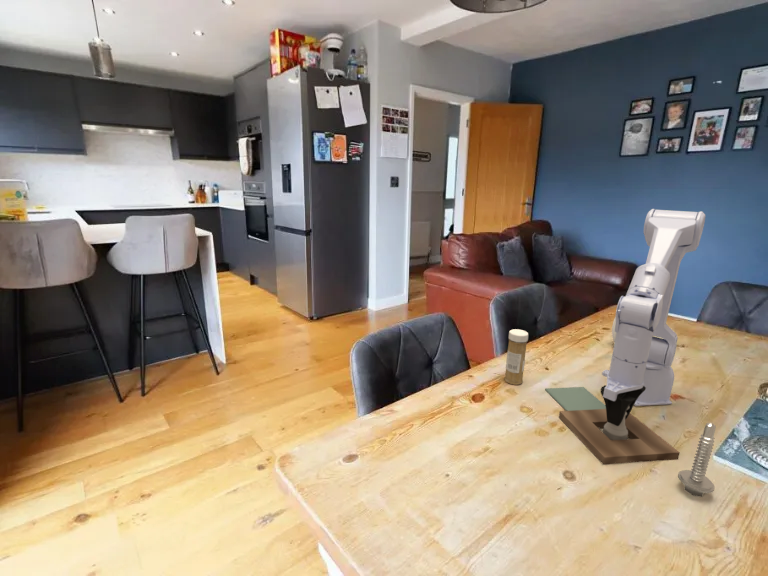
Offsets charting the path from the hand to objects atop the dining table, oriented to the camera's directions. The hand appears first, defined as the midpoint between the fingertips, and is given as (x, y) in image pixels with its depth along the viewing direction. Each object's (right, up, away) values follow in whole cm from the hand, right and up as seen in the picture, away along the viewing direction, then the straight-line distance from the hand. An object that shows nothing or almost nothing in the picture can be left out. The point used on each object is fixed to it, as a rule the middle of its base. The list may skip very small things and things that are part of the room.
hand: (617, 419), depth 80 cm
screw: (+5, -8, -13) cm, 16 cm away
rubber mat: (-1, 0, +14) cm, 14 cm away
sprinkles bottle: (-13, +2, +23) cm, 26 cm away
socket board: (0, -4, +1) cm, 4 cm away
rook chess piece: (0, -4, +1) cm, 4 cm away
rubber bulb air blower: (+28, +7, +45) cm, 54 cm away
